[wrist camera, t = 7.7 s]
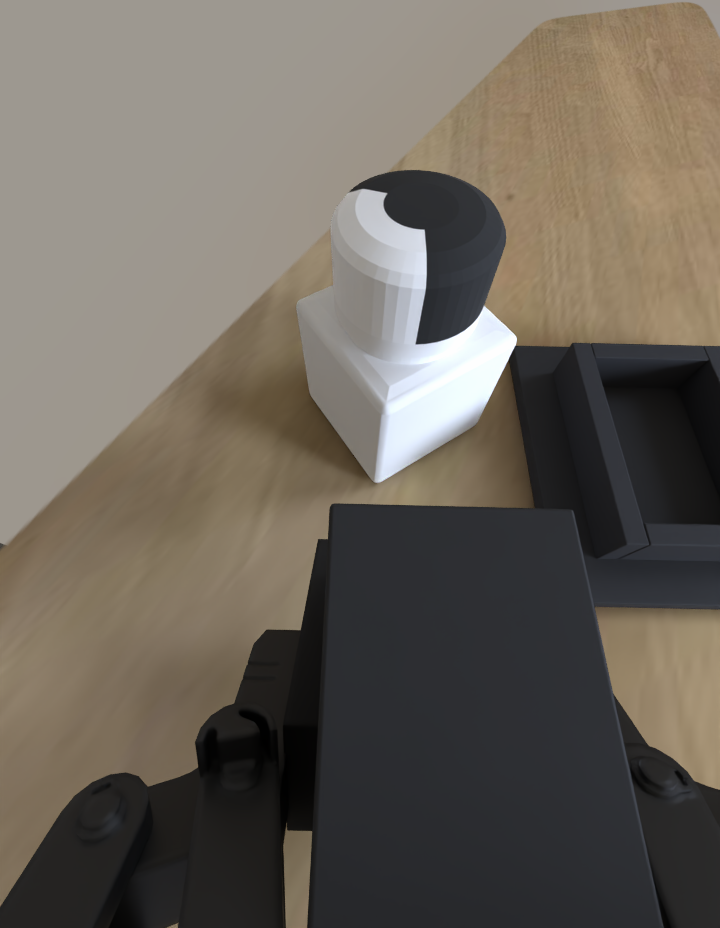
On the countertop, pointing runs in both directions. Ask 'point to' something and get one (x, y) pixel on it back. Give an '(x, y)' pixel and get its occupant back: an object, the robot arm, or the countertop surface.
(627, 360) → the base pad
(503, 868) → the upright block
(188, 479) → the countertop surface
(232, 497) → the countertop surface
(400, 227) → the medicine bottle
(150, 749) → the countertop surface
